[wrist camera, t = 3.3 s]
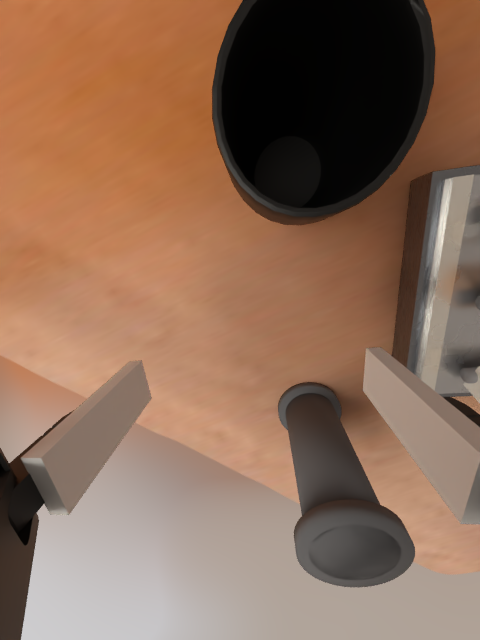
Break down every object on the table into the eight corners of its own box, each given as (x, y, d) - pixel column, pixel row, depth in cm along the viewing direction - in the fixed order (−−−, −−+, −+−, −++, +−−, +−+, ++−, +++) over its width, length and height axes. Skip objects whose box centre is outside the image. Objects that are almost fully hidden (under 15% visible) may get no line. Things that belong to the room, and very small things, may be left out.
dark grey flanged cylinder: (276, 384, 23) (293, 514, 12) (339, 380, 23) (422, 516, 11) (279, 432, 25) (297, 584, 14) (338, 430, 24) (407, 589, 13)
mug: (404, 103, 15) (611, -101, 6) (295, 252, 19) (329, 256, 10) (311, 20, 14) (399, -356, 5) (215, 193, 18) (173, 140, 9)
